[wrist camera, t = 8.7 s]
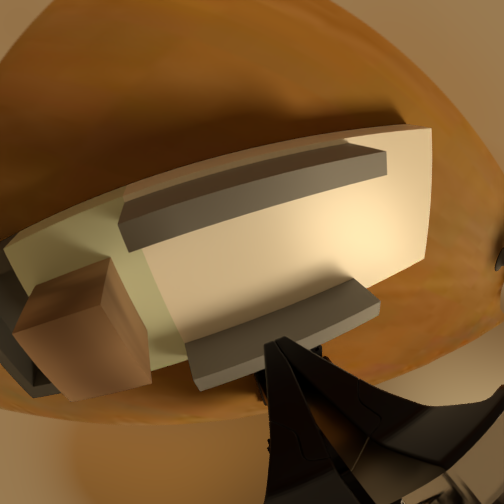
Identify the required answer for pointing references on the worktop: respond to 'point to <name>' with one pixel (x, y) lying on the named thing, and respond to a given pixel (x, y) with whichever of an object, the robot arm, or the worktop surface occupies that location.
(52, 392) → the tray
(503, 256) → the sundae
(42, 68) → the worktop surface
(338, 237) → the deck
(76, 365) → the walnut block
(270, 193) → the lane walls
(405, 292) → the worktop surface
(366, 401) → the robot arm
